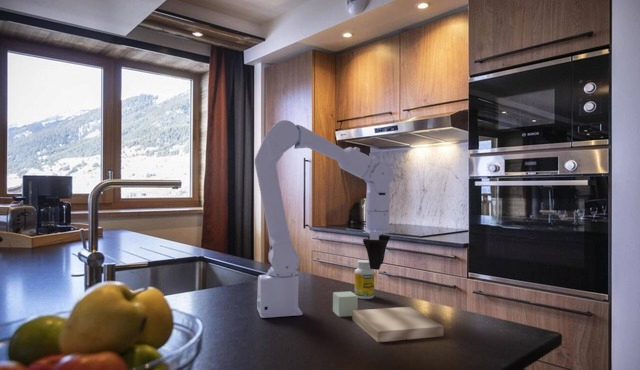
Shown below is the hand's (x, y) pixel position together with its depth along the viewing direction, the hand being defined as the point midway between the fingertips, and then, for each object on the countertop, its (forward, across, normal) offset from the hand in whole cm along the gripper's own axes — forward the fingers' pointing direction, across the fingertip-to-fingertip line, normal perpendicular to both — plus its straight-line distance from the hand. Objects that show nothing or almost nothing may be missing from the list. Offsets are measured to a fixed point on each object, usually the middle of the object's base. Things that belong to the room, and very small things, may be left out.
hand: (376, 266), depth 101 cm
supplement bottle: (+10, +10, +4) cm, 15 cm away
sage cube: (+10, -7, +6) cm, 14 cm away
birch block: (+11, -14, -6) cm, 18 cm away
